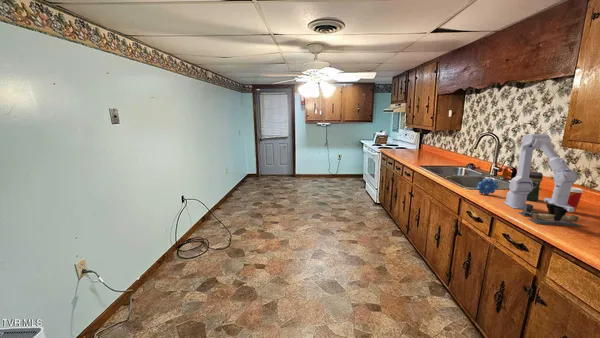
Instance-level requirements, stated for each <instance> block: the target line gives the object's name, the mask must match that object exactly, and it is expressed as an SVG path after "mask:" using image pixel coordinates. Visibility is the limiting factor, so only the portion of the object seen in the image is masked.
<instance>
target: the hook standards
mask: <svg viewBox="0 0 600 338" xmlns="http://www.w3.org/2000/svg"><path fill="white" fill-rule="evenodd" d="M533 209H534V205H533V204H531V203H526V204H524V206H523V209H522V211H519V212H518V214H520V215H521V216H523V217H532V216H533V213H536V214H543V213H542V212H541V213H539V211H538V210H533ZM547 214H549V211H548V212H547ZM566 214H567V213H566ZM566 214H565V215H566Z"/></svg>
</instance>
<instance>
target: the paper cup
mask: <svg viewBox="0 0 600 338" xmlns="http://www.w3.org/2000/svg"><path fill="white" fill-rule="evenodd" d="M583 193H584V190H583V189H582V188H579V187H573V186H572V187H571V191H570V195H569V198H568V202H567V204H568V205H570V206H571V207H573V208H574V211H573V212H567V213H566V214H575V213H576V211H577V207H578V206H579V202H580V201H581V197H582V194H583Z"/></svg>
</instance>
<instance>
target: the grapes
mask: <svg viewBox="0 0 600 338" xmlns="http://www.w3.org/2000/svg"><path fill="white" fill-rule="evenodd" d="M475 189H476V190H477V191H478V193H479V195H480V194H481V195H482V194H484V195H485V196H487V195H489V194H494V193H495V192H496V190H497V189H499V185H498V180H494V178H491V177H490V178H488V179H487V178H483V179H482V180H481V181H479V182H478V183H477V187H476V188H475Z"/></svg>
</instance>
